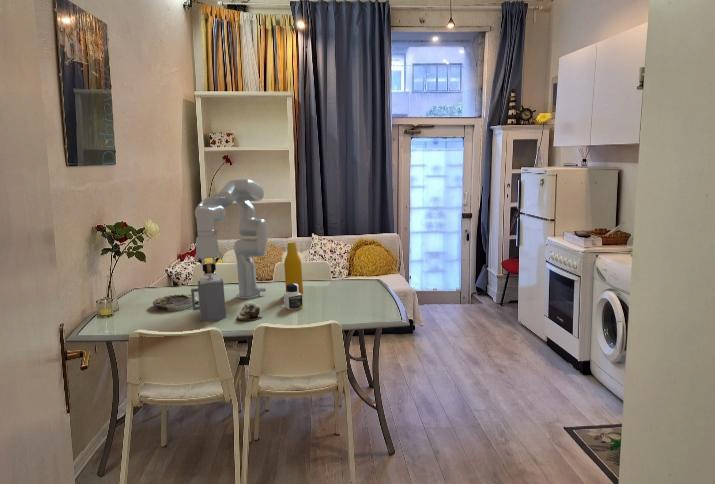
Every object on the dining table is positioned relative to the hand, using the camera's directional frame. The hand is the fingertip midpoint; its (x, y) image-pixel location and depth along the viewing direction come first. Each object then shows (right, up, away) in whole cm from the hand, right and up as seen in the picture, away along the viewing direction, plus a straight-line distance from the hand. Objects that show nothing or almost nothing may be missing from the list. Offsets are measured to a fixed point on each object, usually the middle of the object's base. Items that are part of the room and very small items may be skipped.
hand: (209, 272), depth 259 cm
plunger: (+1, -19, +3) cm, 19 cm away
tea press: (-1, -22, +3) cm, 22 cm away
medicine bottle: (+38, -19, +16) cm, 45 cm away
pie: (-25, -20, +27) cm, 42 cm away
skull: (+18, -22, +2) cm, 29 cm away
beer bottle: (+36, -15, +40) cm, 55 cm away
